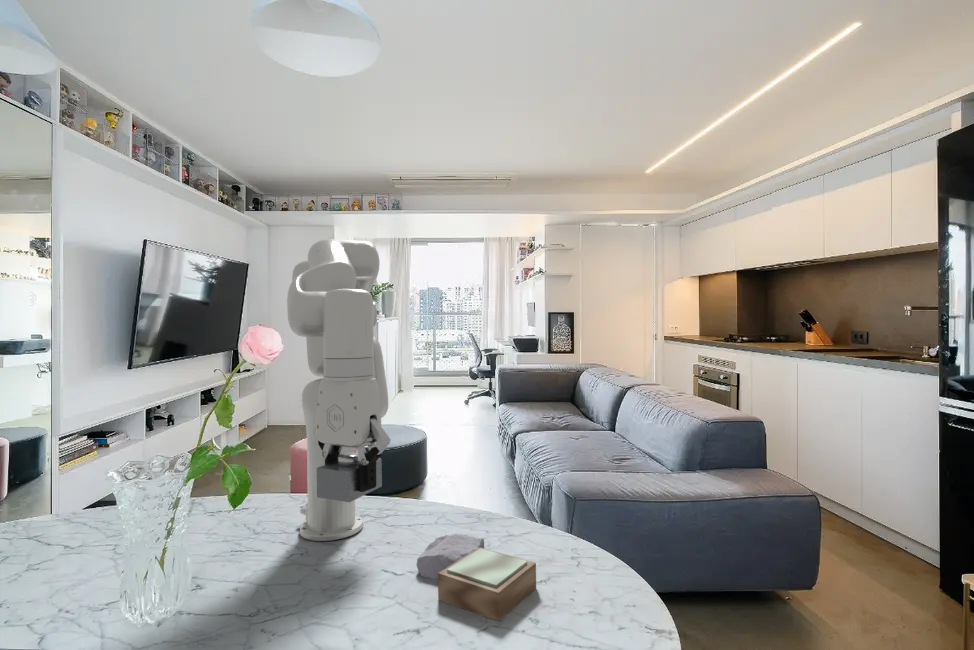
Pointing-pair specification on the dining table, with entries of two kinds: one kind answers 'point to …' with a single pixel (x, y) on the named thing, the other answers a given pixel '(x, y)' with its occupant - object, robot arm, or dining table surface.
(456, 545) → the stone block
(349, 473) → the housing
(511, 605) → the stand
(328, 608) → the dining table surface
